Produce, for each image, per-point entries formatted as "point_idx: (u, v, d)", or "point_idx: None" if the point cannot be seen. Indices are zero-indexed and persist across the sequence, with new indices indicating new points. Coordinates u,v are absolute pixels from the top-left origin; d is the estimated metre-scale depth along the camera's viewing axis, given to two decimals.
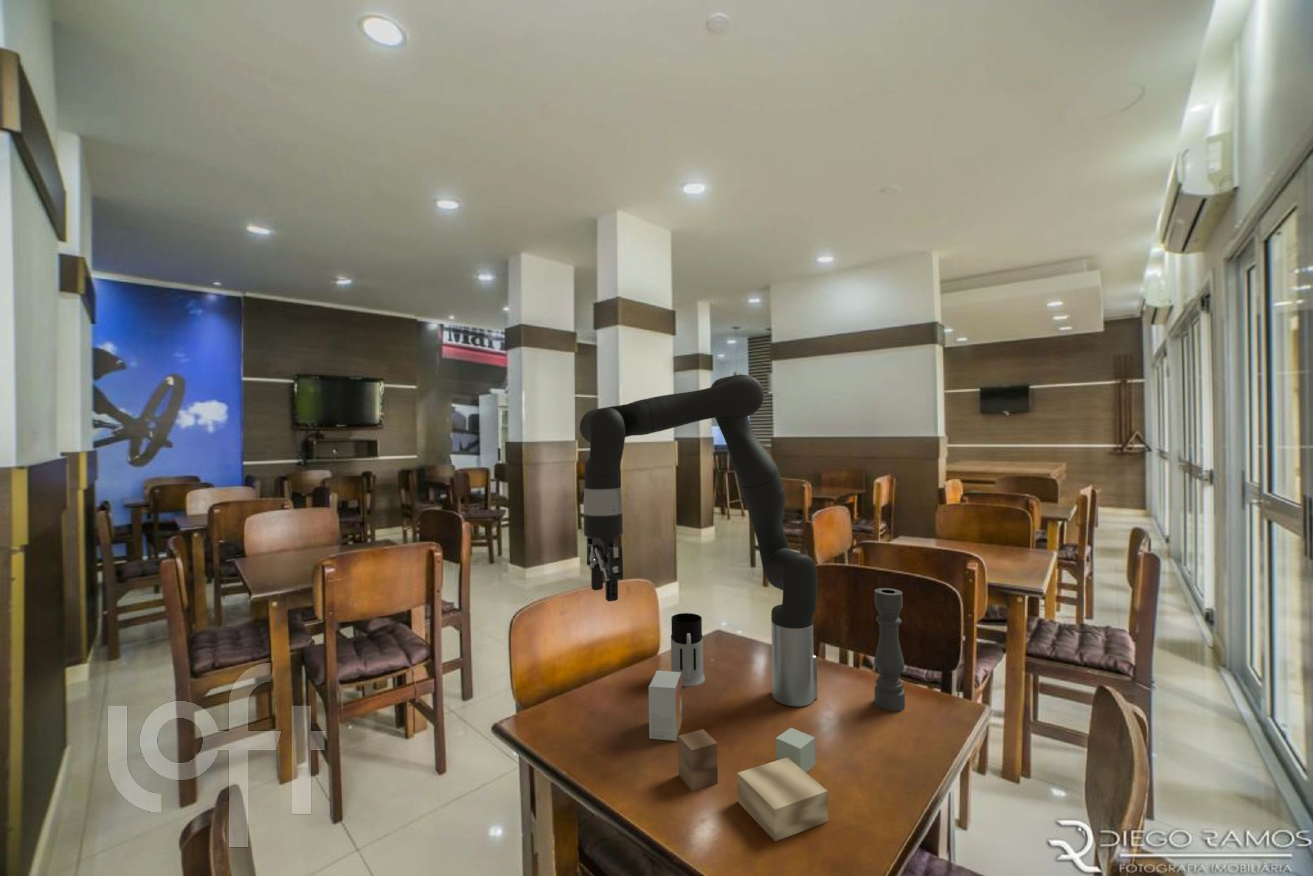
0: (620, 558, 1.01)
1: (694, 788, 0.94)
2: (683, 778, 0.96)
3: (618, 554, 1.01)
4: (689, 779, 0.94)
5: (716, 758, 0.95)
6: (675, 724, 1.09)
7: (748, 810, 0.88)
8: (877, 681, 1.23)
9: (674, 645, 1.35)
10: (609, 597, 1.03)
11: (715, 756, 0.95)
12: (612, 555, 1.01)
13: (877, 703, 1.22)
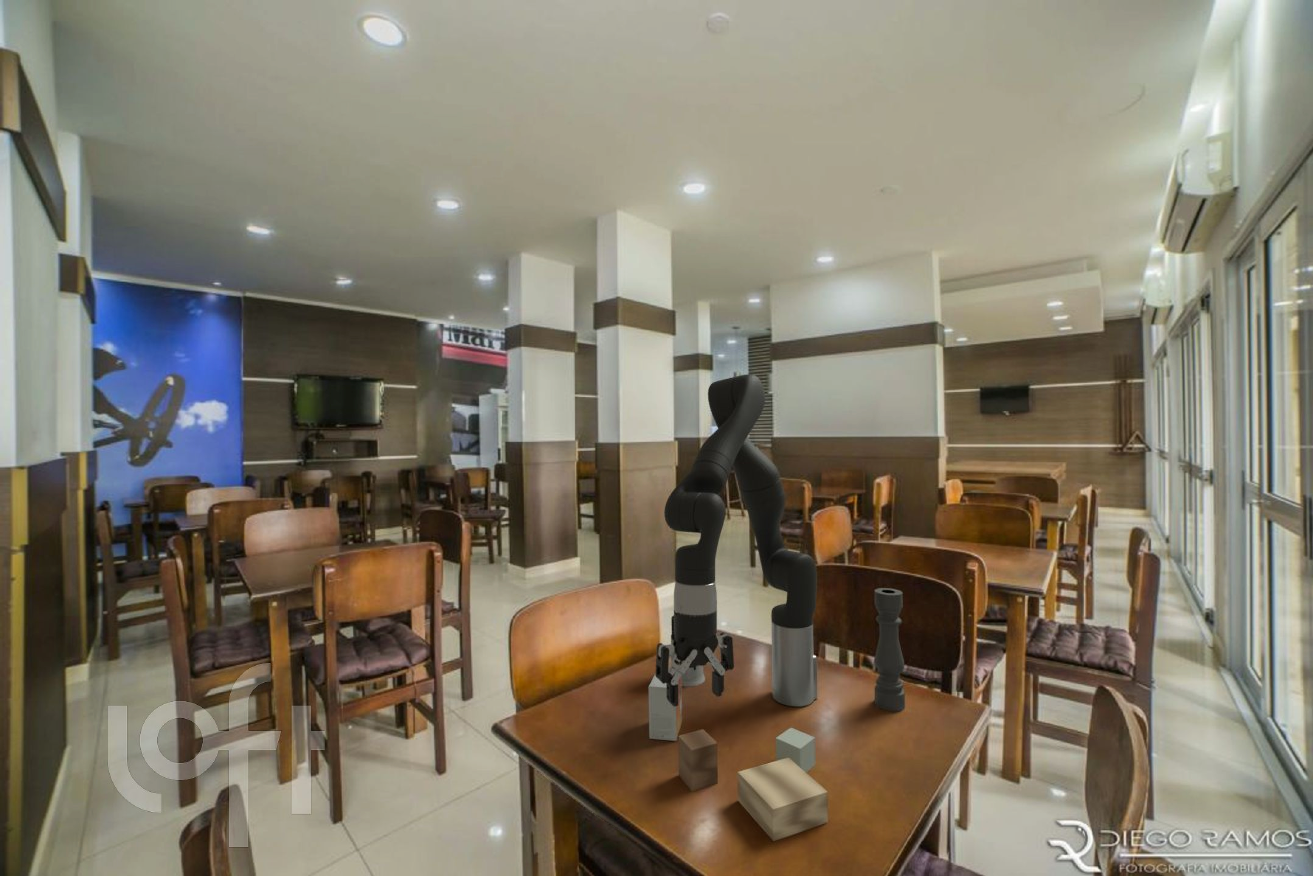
0: None
1: (694, 788, 0.94)
2: (683, 778, 0.96)
3: None
4: (689, 779, 0.94)
5: (716, 758, 0.95)
6: (675, 724, 1.09)
7: (748, 809, 0.88)
8: (877, 681, 1.23)
9: None
10: (722, 690, 0.98)
11: (715, 756, 0.95)
12: None
13: (877, 703, 1.22)
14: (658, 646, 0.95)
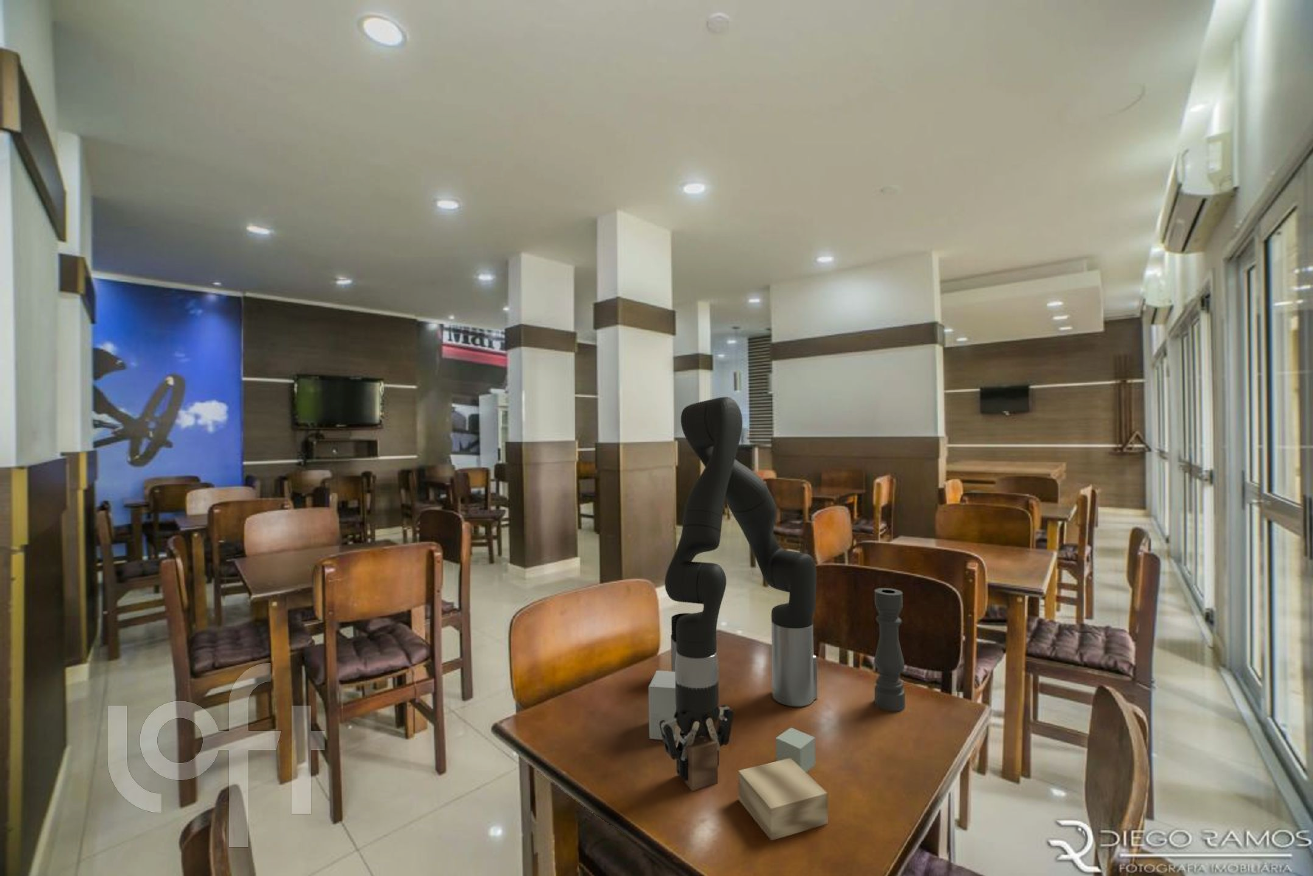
0: None
1: (694, 788, 0.94)
2: None
3: None
4: (689, 779, 0.94)
5: (716, 758, 0.95)
6: None
7: (747, 808, 0.88)
8: (877, 681, 1.23)
9: (674, 645, 1.35)
10: None
11: (715, 756, 0.95)
12: None
13: (877, 703, 1.22)
14: (660, 724, 0.95)
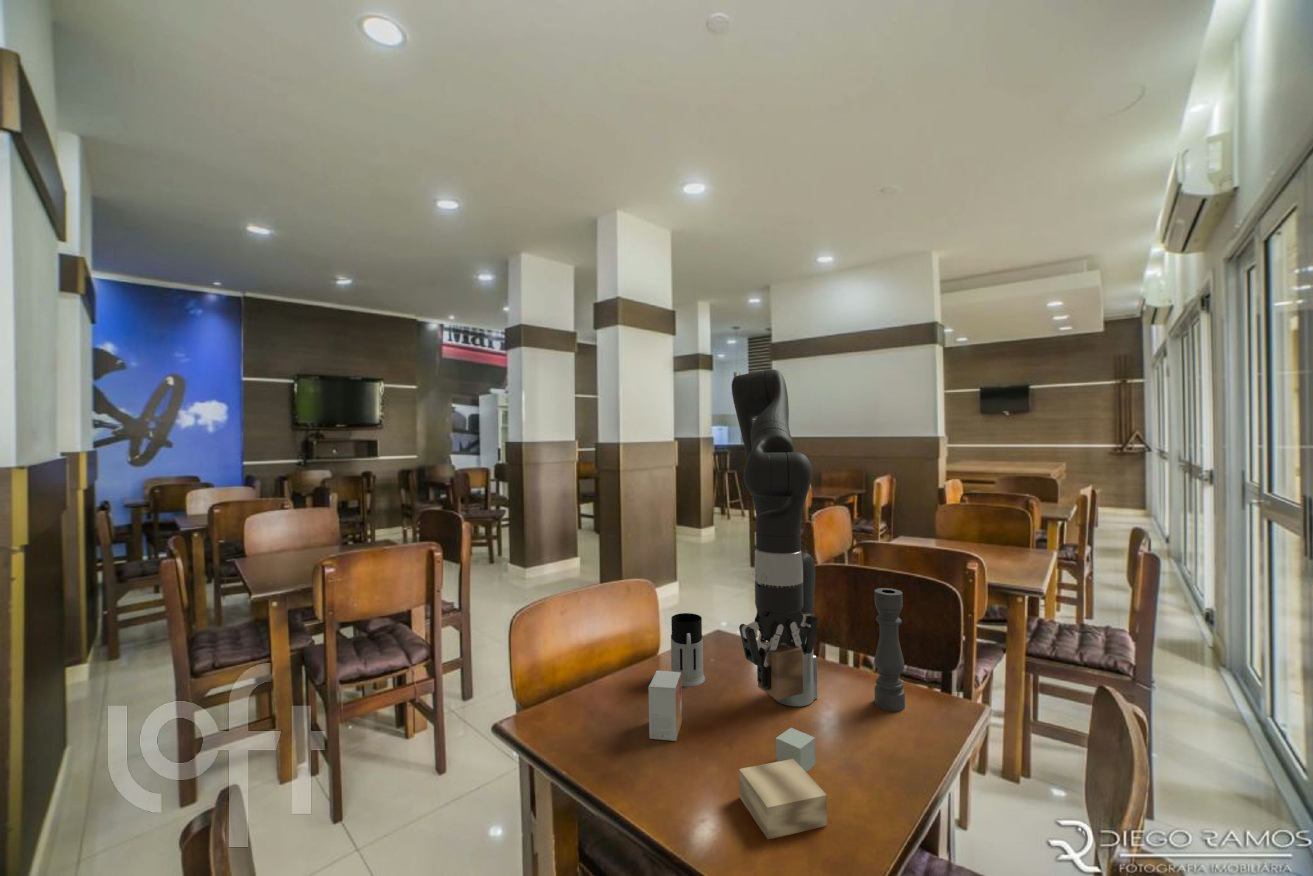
0: None
1: (779, 696, 0.85)
2: None
3: None
4: (773, 687, 0.86)
5: (801, 665, 0.87)
6: (675, 724, 1.09)
7: (747, 806, 0.89)
8: (877, 681, 1.23)
9: (674, 645, 1.35)
10: None
11: (800, 663, 0.87)
12: None
13: (877, 703, 1.22)
14: (741, 628, 0.86)
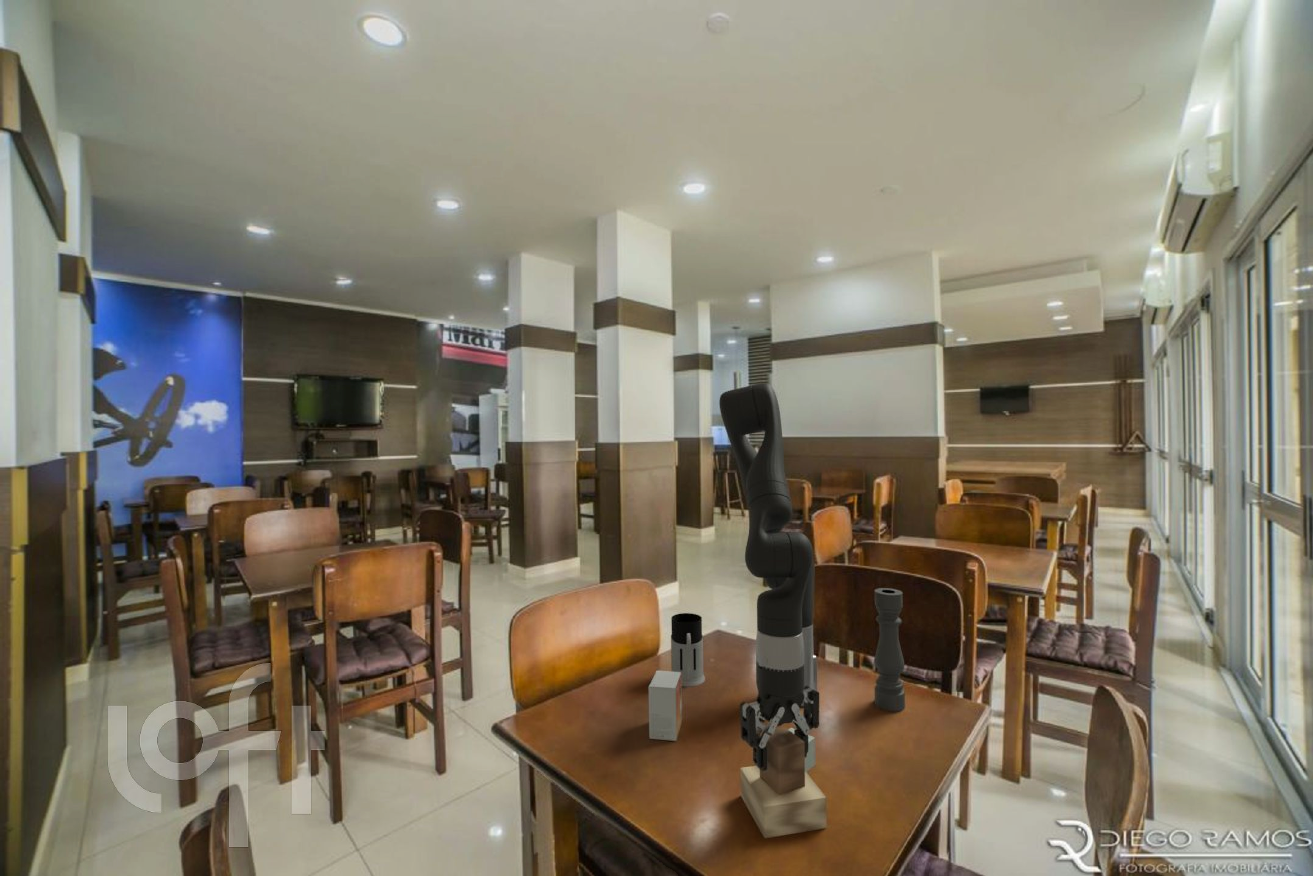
0: None
1: (781, 791, 0.85)
2: (766, 780, 0.88)
3: None
4: (775, 782, 0.86)
5: (803, 758, 0.87)
6: (675, 724, 1.09)
7: (747, 805, 0.89)
8: (877, 681, 1.23)
9: (674, 645, 1.35)
10: (806, 751, 0.90)
11: (802, 756, 0.87)
12: None
13: (877, 703, 1.22)
14: (741, 706, 0.86)
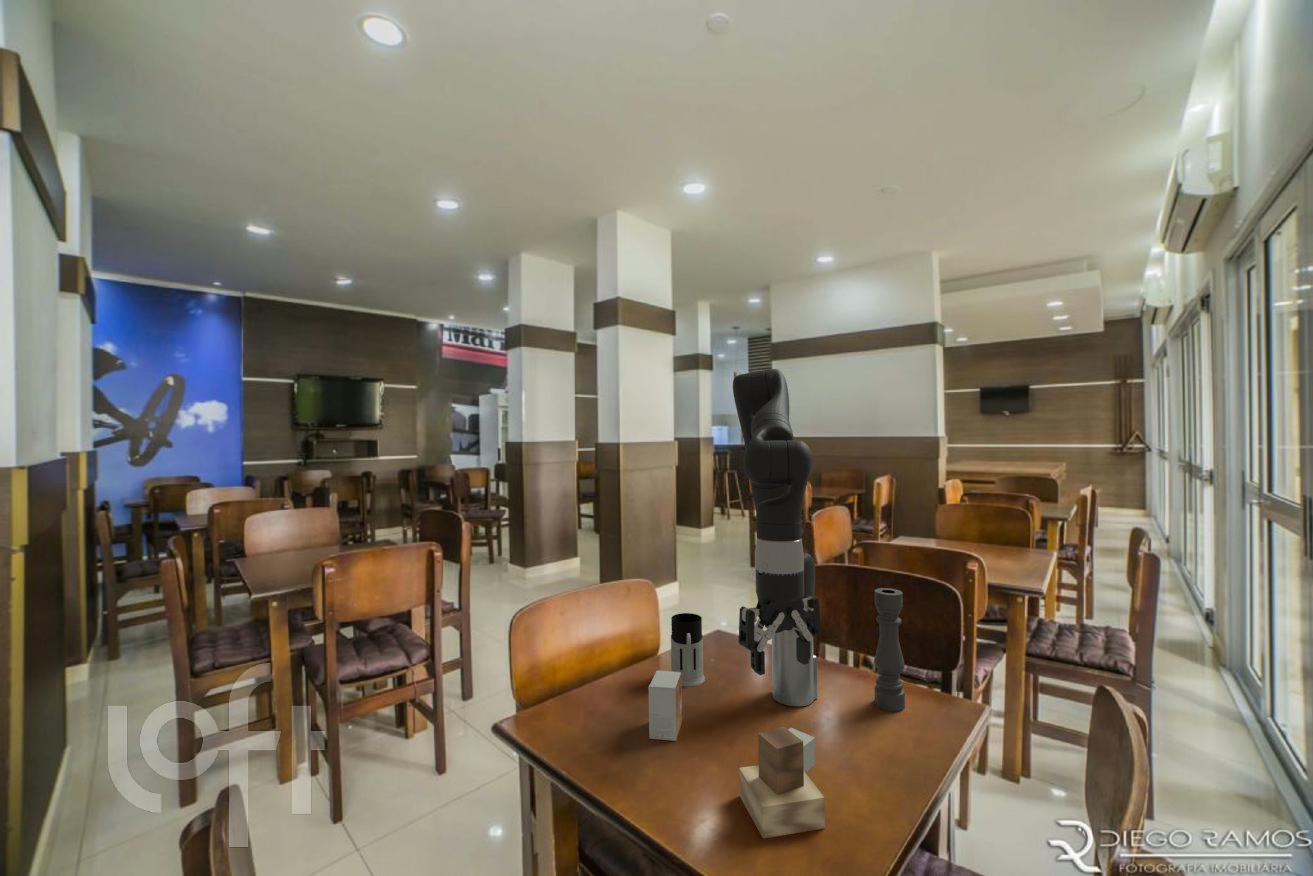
0: None
1: (780, 791, 0.85)
2: (765, 780, 0.88)
3: None
4: (774, 781, 0.86)
5: (802, 758, 0.87)
6: (675, 724, 1.09)
7: (746, 805, 0.89)
8: (877, 681, 1.23)
9: (674, 645, 1.35)
10: (808, 658, 0.90)
11: (801, 756, 0.87)
12: None
13: (877, 703, 1.22)
14: (741, 609, 0.86)
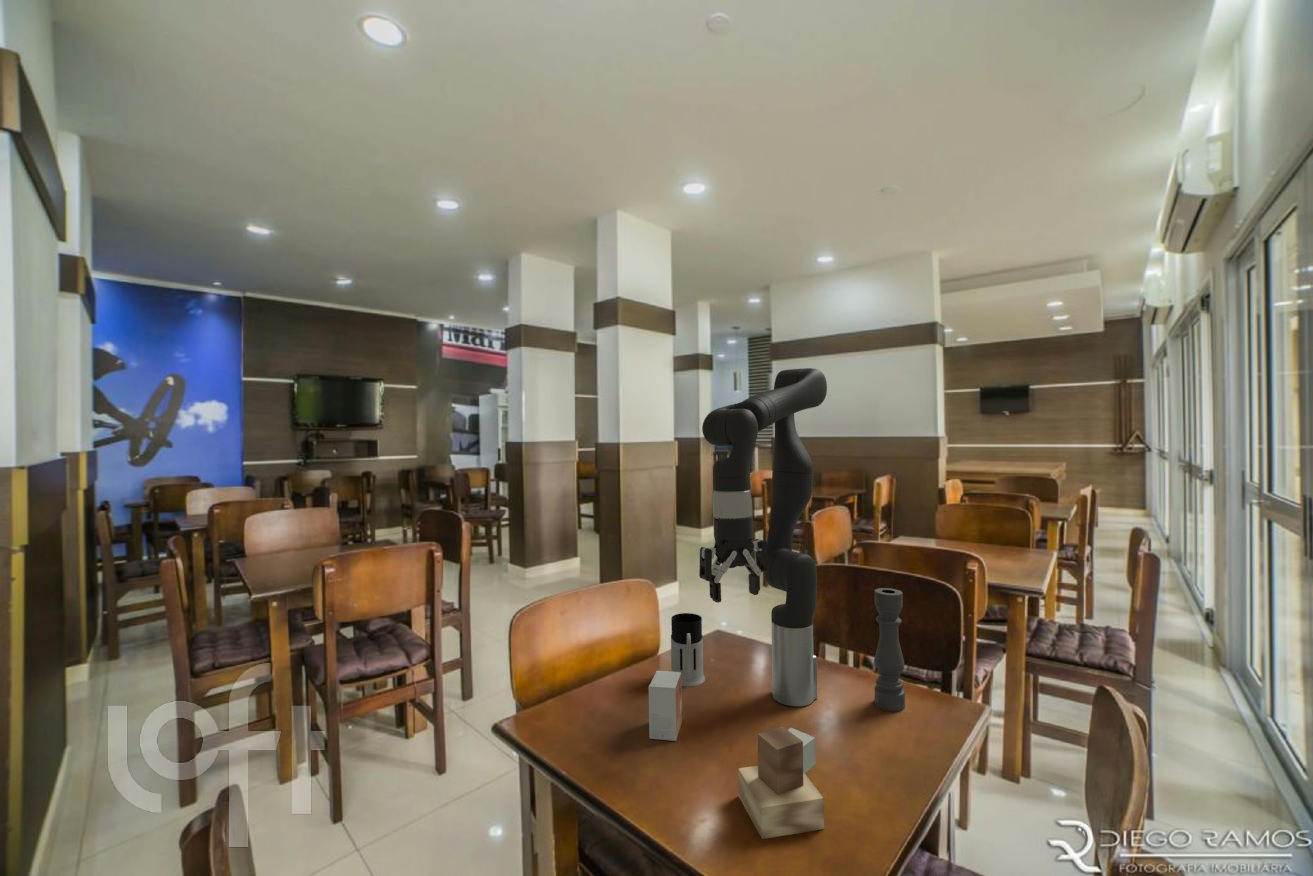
0: None
1: (780, 791, 0.85)
2: (765, 780, 0.88)
3: None
4: (773, 782, 0.86)
5: (802, 758, 0.87)
6: (675, 724, 1.09)
7: (745, 806, 0.89)
8: (877, 681, 1.23)
9: (674, 645, 1.35)
10: (758, 590, 1.08)
11: (801, 756, 0.87)
12: None
13: (877, 703, 1.22)
14: (701, 549, 1.04)
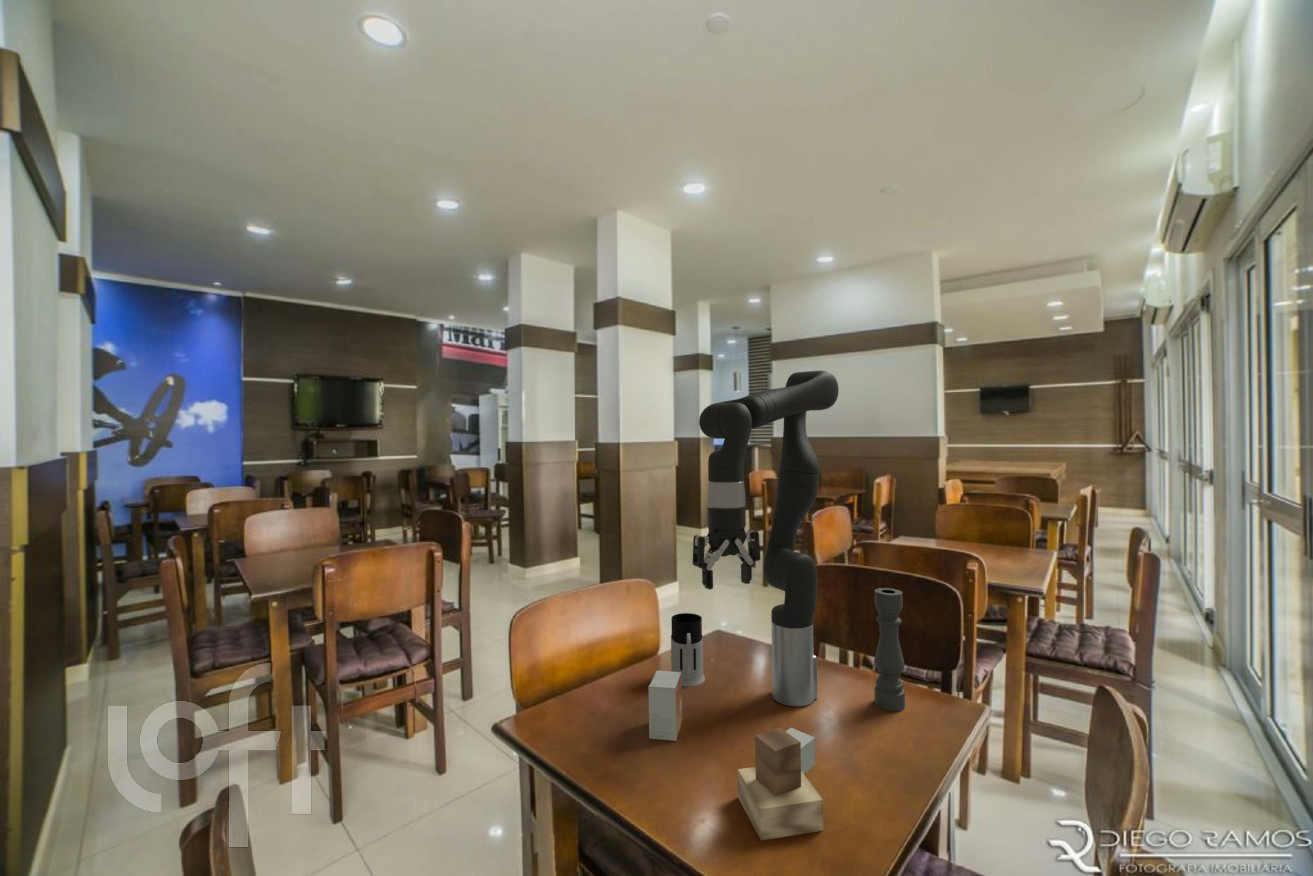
0: None
1: (778, 793, 0.85)
2: (762, 782, 0.88)
3: None
4: (772, 783, 0.85)
5: (799, 759, 0.87)
6: (675, 724, 1.09)
7: (744, 807, 0.89)
8: (877, 681, 1.23)
9: (674, 645, 1.35)
10: (750, 579, 1.11)
11: (798, 757, 0.87)
12: None
13: (877, 703, 1.22)
14: (695, 537, 1.08)
